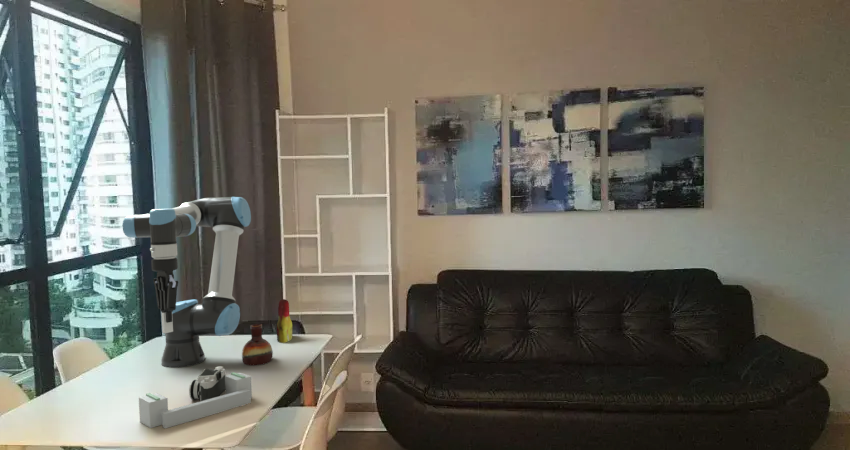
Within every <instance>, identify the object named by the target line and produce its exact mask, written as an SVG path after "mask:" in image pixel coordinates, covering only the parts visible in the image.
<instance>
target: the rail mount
mask: <svg viewBox="0 0 850 450" xmlns="http://www.w3.org/2000/svg"><path fill="white" fill-rule="evenodd" d="M252 387H253V386H252V375H249V374H245V373H243V372H234V371H233V372H230V374H228V375H226V376H225V391H224V392H225V394H223V395H222V394H221V395H220V396H219V397H215V398H211V399H208V400H204V401H200V400H199V401H197V402H193V403H190V404H186V405H183V406H178V407H175V408H172V409H169V404H168V403H169V402H168V400H169V399H168V397H167V396H165V395H162V394H160V393H158V392H155V393H151V392H148V393H145V395H143V396H138V407H139V412H138V413H139V423H141V424H143V425H144V426H146V427H148V428H149V429H152V428H155V427H158V426H162V428H163V429H168V428H171V427H175V426H179V425H181V424H185V423H188V422H191V421H195V420H199V419H201V418H205V417H209V416H212V415H215V414H218V413H221V412H222V413H223V412H225V411H229V410H232V409H235V408H240V407H243V406H246V405H245V404H247V405H249V404H248V403H250V404H251V403H252V402H251V401H252V400H251V399H252V398H253V389H252ZM242 405H243V406H242ZM239 406H240V407H239Z"/></svg>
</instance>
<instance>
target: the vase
mask: <svg viewBox="0 0 850 450" xmlns="http://www.w3.org/2000/svg"><path fill="white" fill-rule="evenodd" d="M262 333H263V324H262V323H253V324H251V325H250V335H251V338H250V340H247V342H246V343H245V344H244V346H243V347H242V351H241V360H242V362H243V364H244V365H246V366H261V365H265V364H268V363H271V362H272V359H273V355H274V353H273V352H274V350H273V347H272V345H271V344H270V342H269V341H268V340H267V339H265V338H264V337H263V334H262Z"/></svg>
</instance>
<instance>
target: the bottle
mask: <svg viewBox="0 0 850 450" xmlns="http://www.w3.org/2000/svg"><path fill="white" fill-rule="evenodd" d="M289 303H290V302H289V301H288V299H285V298H282V299H280V300H279V302H278V308H277V314H278V321H277V322H276V341H277V343H280V344H285V343H288V342H289V341H291V340H292V338H293V322H292V320H291V317H290V304H289Z"/></svg>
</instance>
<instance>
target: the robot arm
mask: <svg viewBox="0 0 850 450" xmlns="http://www.w3.org/2000/svg"><path fill="white" fill-rule="evenodd" d="M251 214H252V213H251V208H250V205H249V203H248V201H247V199H246V198H244V197H242V196H223V197H222V196H221V197H220V196H219V197H216V196H215V197H204V198H199V199H195V200H192V201H191V200H190V201H188V202H187V201H186V202H183V203H181V205H180V206H177V207H176V206H175V207H172V208H153V209H151V210H150V211H149V213H144V214H134V215H133V214H132V215H131V214H130V215H127V216H125V218H124V219H123V221H122V232H123V234H124V235H125V237H127V238H135V239H138V238H139V239H140V238H150V248H149V251H150V254H151V256H150V257H151V258H152V259H151V271H153V272H156V277H155V278H153V280H152V281H153V284H154V288H155V296H156V303H157V309H158V310H160V312H161V326H162V327H161V329H162V333H163V334H165V346H164V349H163V353H162V356H161V359H160V360H161V361H160V363H161V366H162V367H165V368H174V369H175V368H186V367H191V366H194V365H195V366H196V365H198V364H201V363H203V362H204V361H205V359H206V355H205V353H204V352H205V351H204V350H203V347H202V345H201V342H200V336H218V337H221V336H228V335H231V334H233V333H234V332H235V331H236V330H237V328H238V325H239V323H240V317H241V311H240V310H241V309H240V306H239V304H237V303H236V299H235V297H234V296H233V289H234V282H235V273H236V263H237V255H238V247H239V238H240V236H241V235H242V234H243V233H244V230H245V227H249V225H250V224H251V221H252V215H251ZM197 227H205V228H212V231H213V232H214V233H215V238H214V246H213V253H212V254H213V255H212V261H211V270H210V278H209V284H208V291H207V294H206V295H205V296H204V297H203V298H202V303H199V300H198V299H186V300H183V301H182V300H181V301H177V297H178V296H177V294H178V293H177V292H178V287H179V281H178V280H175V276H174V274H175V273H174V271H175V270H178V268H179V265H178V258H177V257H178V243H177V242H178V241H177V238H182V237H184V238H185V237H188V236H191V235H192V234H193V233H194V232H196V229H197Z"/></svg>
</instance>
